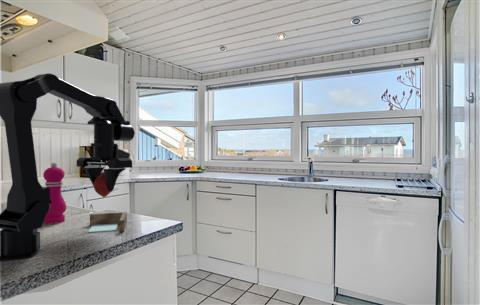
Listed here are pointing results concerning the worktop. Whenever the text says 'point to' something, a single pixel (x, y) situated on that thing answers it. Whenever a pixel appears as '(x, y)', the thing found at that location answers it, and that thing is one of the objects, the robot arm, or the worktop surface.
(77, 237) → the worktop surface
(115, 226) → the pad
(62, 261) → the worktop surface
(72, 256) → the worktop surface
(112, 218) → the arena
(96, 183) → the onion
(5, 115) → the robot arm
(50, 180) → the pepper mill
